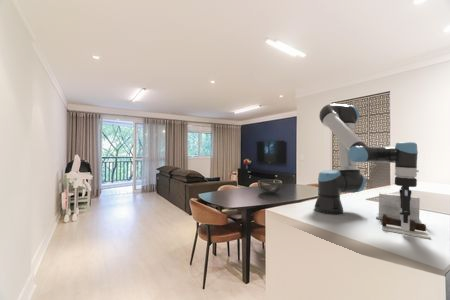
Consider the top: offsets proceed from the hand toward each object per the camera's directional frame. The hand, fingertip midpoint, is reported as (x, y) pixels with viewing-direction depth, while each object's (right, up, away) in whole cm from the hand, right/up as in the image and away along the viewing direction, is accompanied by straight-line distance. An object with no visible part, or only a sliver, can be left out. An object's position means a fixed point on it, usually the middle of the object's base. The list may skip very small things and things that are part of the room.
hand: (404, 226), depth 97 cm
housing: (+9, -2, +16) cm, 18 cm away
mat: (0, -2, 0) cm, 2 cm away
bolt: (-1, -1, 0) cm, 1 cm away
